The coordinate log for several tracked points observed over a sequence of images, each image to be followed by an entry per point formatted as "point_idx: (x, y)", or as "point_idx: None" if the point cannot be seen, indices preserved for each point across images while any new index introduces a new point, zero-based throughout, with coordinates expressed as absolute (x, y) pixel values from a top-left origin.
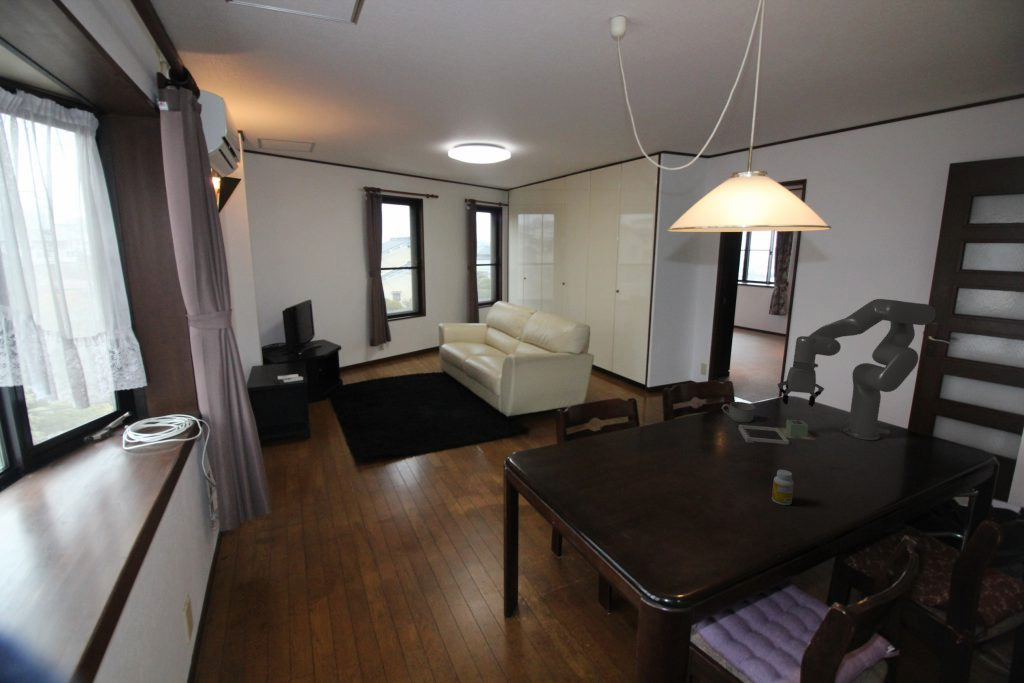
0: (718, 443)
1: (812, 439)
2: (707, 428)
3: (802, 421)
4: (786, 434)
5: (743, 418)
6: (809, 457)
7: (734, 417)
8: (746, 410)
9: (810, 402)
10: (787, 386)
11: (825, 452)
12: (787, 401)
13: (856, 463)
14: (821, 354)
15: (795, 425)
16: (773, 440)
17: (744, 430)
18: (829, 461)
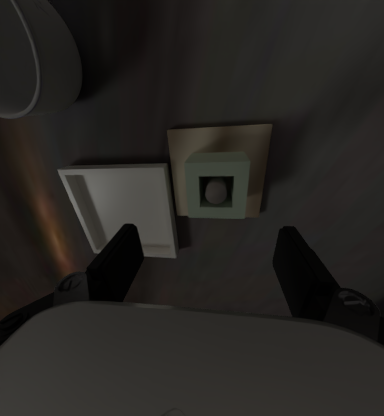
0: (59, 255)
1: (247, 215)
2: (6, 180)
3: (242, 173)
4: (185, 193)
5: (48, 113)
6: (204, 285)
7: (19, 100)
8: (20, 116)
9: (283, 267)
10: (34, 327)
11: (247, 264)
12: (135, 271)
13: (281, 297)
14: None
15: (202, 216)
16: (144, 255)
17: (80, 213)
18: (234, 294)
